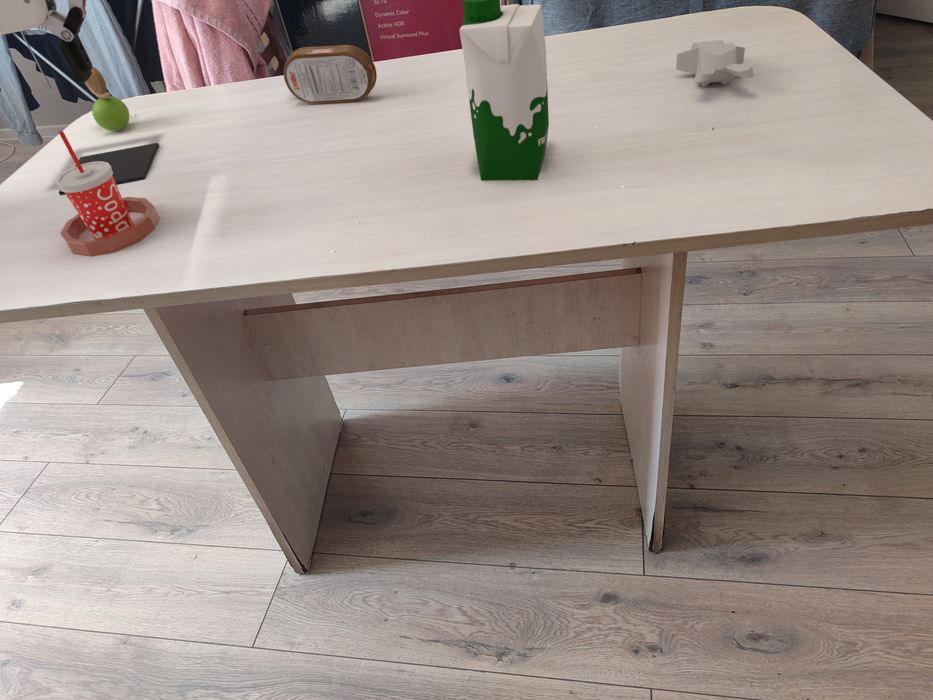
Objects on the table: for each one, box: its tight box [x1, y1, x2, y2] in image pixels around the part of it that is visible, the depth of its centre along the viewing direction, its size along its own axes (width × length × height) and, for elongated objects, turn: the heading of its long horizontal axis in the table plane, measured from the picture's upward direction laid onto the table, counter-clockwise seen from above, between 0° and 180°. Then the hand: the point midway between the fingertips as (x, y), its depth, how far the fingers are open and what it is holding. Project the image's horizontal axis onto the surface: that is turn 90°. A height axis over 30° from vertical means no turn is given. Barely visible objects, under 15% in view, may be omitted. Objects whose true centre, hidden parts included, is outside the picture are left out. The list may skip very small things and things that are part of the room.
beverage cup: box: [55, 130, 134, 239], centre depth 79 cm, size 6×6×14 cm
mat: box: [58, 142, 160, 196], centre depth 100 cm, size 12×12×1 cm
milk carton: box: [458, 0, 550, 181], centre depth 79 cm, size 9×9×20 cm
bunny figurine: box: [675, 39, 755, 87], centre depth 97 cm, size 10×5×15 cm
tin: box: [282, 44, 378, 105], centre depth 108 cm, size 15×3×8 cm, turn 80°
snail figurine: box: [83, 65, 130, 132], centre depth 109 cm, size 5×6×12 cm
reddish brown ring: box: [59, 196, 160, 258], centre depth 83 cm, size 11×11×3 cm
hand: (39, 87), depth 71 cm, fingers open, 9 cm apart
